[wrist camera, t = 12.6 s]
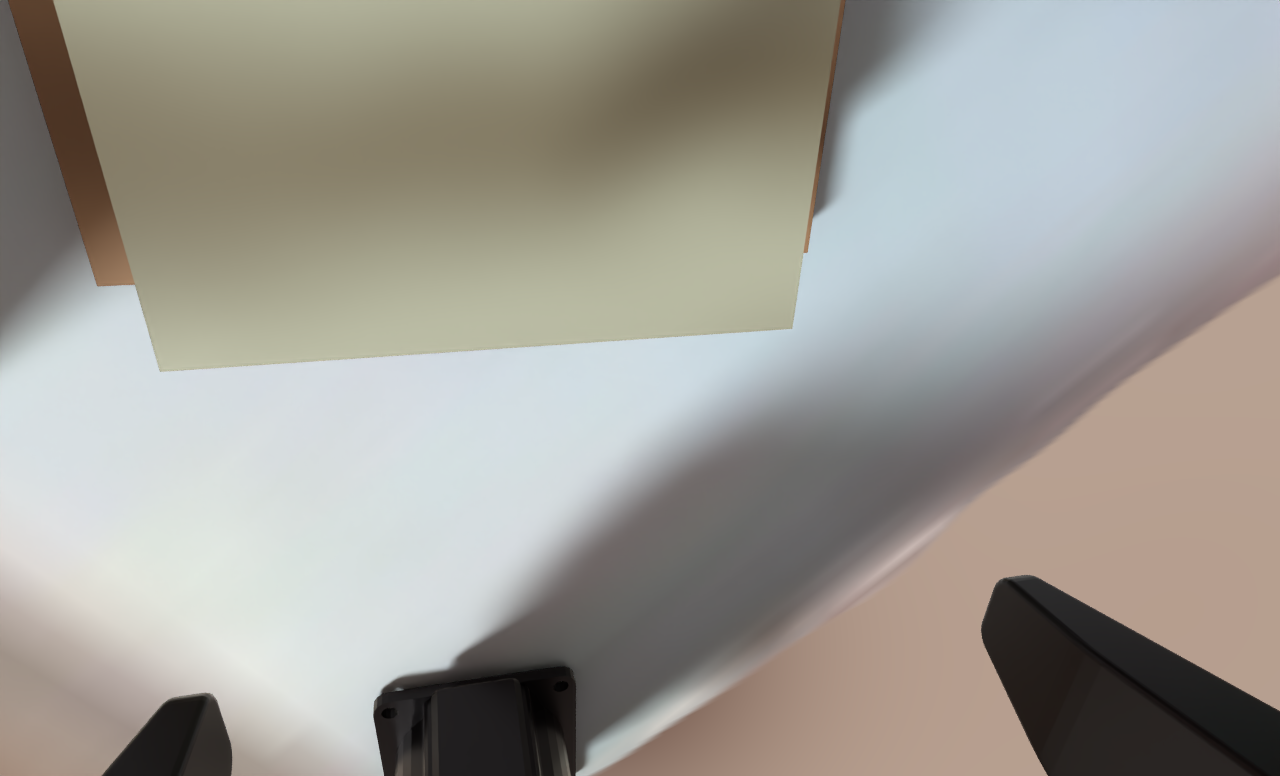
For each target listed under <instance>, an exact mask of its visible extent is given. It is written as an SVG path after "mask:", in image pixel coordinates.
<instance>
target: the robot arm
mask: <svg viewBox="0 0 1280 776" xmlns="http://www.w3.org/2000/svg"><path fill="white" fill-rule="evenodd" d="M981 627H982V628H981V633H982V639H983V643H984V645H985V648H986V650H987V652H988V654H989V656H990V658H991V661H992V663H993V665H994V667H995V669H996V671H997V673H998V675H999V678H1000V680H1001V682H1002V684H1003V686H1004V688H1005V690H1006V692H1007V695H1008V697H1009V699H1010V701H1011V703H1012V705H1013V707H1014V709H1015V712H1016V714H1017V716H1018V718H1019V720H1020V722H1021V724H1022V726H1023V729H1024V731H1025V733H1026V735H1027V737H1028V739H1029V741H1030V743H1031V745H1032V747H1033V749H1034V751H1035V753H1036V755H1037V757H1038V759H1039V760H1040V762H1041V764H1042V766H1043V767H1044V770H1045V771H1046V773H1047V775H1048V776H1280V711H1279V710H1277V709H1275V708H1273V707H1271V706H1270V705H1268V704H1266V703H1264V702H1262V701H1260V700H1259V699H1257V698H1255V697H1253V696H1251V695H1250V694H1248V693H1246V692H1244V691H1242V690H1241V689H1239V688H1237V687H1235V686H1233V685H1231V684H1230V683H1228V682H1226V681H1224V680H1222V679H1221V678H1219V677H1217V676H1215V675H1213V674H1211V673H1210V672H1208V671H1206V670H1204V669H1202V668H1201V667H1199V666H1197V665H1195V664H1193V663H1191V662H1190V661H1188V660H1186V659H1184V658H1182V657H1181V656H1179V655H1177V654H1175V653H1173V652H1172V651H1170V650H1168V649H1166V648H1164V647H1163V646H1161V645H1159V644H1157V643H1155V642H1153V641H1152V640H1150V639H1148V638H1146V637H1144V636H1143V635H1141V634H1139V633H1137V632H1135V631H1134V630H1132V629H1130V628H1128V627H1126V626H1124V625H1123V624H1121V623H1119V622H1117V621H1115V620H1114V619H1111V618H1110V617H1108V616H1106V615H1105V614H1103V613H1101V612H1099V611H1097V610H1095V609H1094V608H1092V607H1090V606H1088V605H1086V604H1085V603H1083V602H1081V601H1079V600H1077V599H1075V598H1074V597H1072V596H1070V595H1068V594H1066V593H1064V592H1063V591H1061V590H1059V589H1057V588H1056V587H1054V586H1052V585H1050V584H1048V583H1046V582H1045V581H1043V580H1041V579H1039V578H1037V577H1035V576H1031V575H1021V576H1015V577H1009V578H1003V579H1001V580H999V582H997V583H996V585H995V587H994V590H993V593H992V596H991V598H990V601H989V604H988V607H987V610H986V613H985V616H984V619H983V621H982V626H981ZM560 681H561V682H560ZM373 717H374V722H375V728H376V733H377V739H378V744H379V749H380V755H381V760H382V766H383V771H384V776H575V771H576V683H575V678H574V674H573V671H572V670H571V669H570V668H568V667H554V668H547V669H540V670H534V671H527V672H521V673H514V674H507V675H501V676H494V677H488V678H481V679H474V680H468V681H461V682H455V683H448V684H441V685H435V686H428V687H422V688H415V689H408V690H402V691H395V692H389V693H385V694H382V695H380V696H379V697H377V699H376V700H375V701H374V713H373ZM231 771H232V749H231V743H230V740H229V736H228V733H227V730H226V727H225V724H224V721H223V718H222V715H221V712H220V708H219V705H218V702H217V700H216V698H215V697H214V696H213V695H212V694H210V693H200V694H193V695H186V696H179V697H174V698H171V699H169V700H167V701H166V702H165V703H163V704H162V705H161V706H160V708H159V709H158V710H157V711H156V712H155V713H154V715H153V716H152V717H151V718H150V719H149V721H148V722H147V723H146V724H145V725H144V726H143V728H142V729H141V730H140V731H139V732H138V733H137V735H136V736H135V737H134V738H133V739H132V741H131V742H130V743H129V744H128V745H127V746H126V748H125V749H124V750H123V751H122V752H121V754H120V755H119V756H118V757H117V758H116V759H115V761H114V762H113V763H112V764H111V765H110V766H109V768H108V769H107V770H106V771H105V772H104V774H103V775H102V776H231Z"/></svg>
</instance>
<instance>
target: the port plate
mask: <svg viewBox="0 0 1280 776" xmlns="http://www.w3.org/2000/svg"><path fill="white" fill-rule="evenodd" d="M8 2H9V6H10V9H11V12H12V15H13V18H14V21H15V25H16V28H17V31H18V34H19V37H20V41H21V44H22V47H23V50H24V53H25V57H26V60H27V63H28V66H29V69H30V73H31V76H32V79H33V82H34V85H35V89H36V92H37V95H38V98H39V101H40V105H41V108H42V111H43V114H44V117H45V121H46V124H47V127H48V130H49V133H50V137H51V140H52V143H53V146H54V149H55V153H56V156H57V159H58V162H59V165H60V169H61V172H62V175H63V178H64V181H65V185H66V188H67V191H68V194H69V197H70V201H71V204H72V207H73V210H74V213H75V216H76V220H77V223H78V226H79V229H80V232H81V236H82V239H83V242H84V245H85V248H86V252H87V255H88V258H89V261H90V264H91V268H92V271H93V274H94V277H95V280H96V284H97V286H114V285H135V286H136V290H137V293H138V297H139V300H140V304H141V307H142V311H143V314H144V318H145V321H146V325H147V328H148V332H149V335H150V338H151V342H152V345H153V349H154V352H155V356H156V359H157V363H158V366H159V370H160V372H164V371H179V370H194V369H208V368H223V367H238V366H252V365H267V364H282V363H296V362H311V361H326V360H340V359H355V358H370V357H385V356H399V355H414V354H429V353H443V352H458V351H473V350H487V349H502V348H517V347H531V346H546V345H561V344H576V343H590V342H605V341H620V340H634V339H649V338H664V337H678V336H693V335H708V334H722V333H737V332H752V331H767V330H781V329H792V327H793V320H794V313H795V306H796V300H797V293H798V286H799V279H800V273H801V266H802V259H803V253H807V252H808V245H809V239H810V232H811V226H812V219H813V212H814V206H815V199H816V192H817V186H818V179H819V172H820V166H821V159H822V153H823V146H824V139H825V133H826V126H827V119H828V113H829V106H830V99H831V93H832V86H833V80H834V73H835V66H836V60H837V53H838V46H839V40H840V33H841V26H842V20H843V13H844V7H845V0H8Z"/></svg>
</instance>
